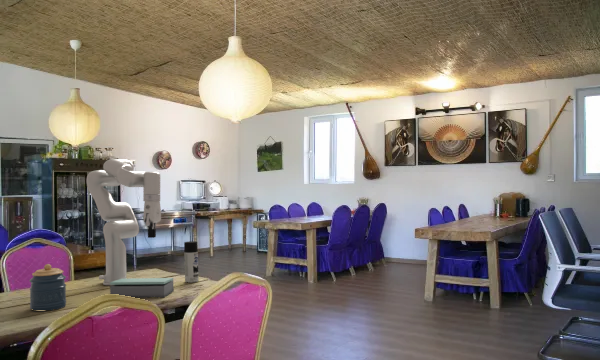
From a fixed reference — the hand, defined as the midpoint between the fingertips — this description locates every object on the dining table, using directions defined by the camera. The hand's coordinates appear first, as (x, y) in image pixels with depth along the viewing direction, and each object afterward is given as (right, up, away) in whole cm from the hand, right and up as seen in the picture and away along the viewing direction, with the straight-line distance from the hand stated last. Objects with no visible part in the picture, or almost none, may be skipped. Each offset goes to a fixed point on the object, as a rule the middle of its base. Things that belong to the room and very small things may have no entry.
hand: (151, 237), depth 218 cm
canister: (-32, -25, -30) cm, 51 cm away
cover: (-1, -19, -10) cm, 21 cm away
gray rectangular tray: (-1, -24, -10) cm, 26 cm away
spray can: (+15, -25, +17) cm, 34 cm away
